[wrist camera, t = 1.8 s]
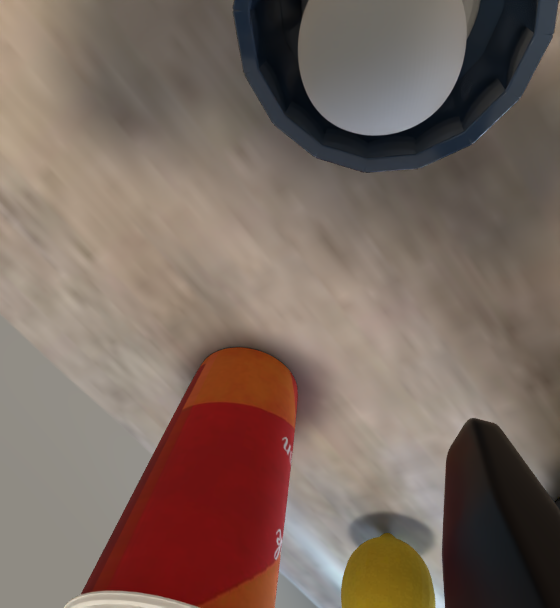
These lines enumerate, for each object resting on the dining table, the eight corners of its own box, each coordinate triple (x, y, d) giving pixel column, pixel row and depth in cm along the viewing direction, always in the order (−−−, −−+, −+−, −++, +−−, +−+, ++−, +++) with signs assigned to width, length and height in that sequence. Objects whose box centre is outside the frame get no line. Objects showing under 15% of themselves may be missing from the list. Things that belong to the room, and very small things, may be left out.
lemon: (360, 557, 37) (354, 691, 30) (334, 513, 34) (321, 649, 28) (439, 554, 35) (450, 696, 28) (419, 507, 32) (425, 652, 26)
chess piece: (307, 92, 18) (252, 206, 11) (298, -101, 15) (215, -114, 8) (466, 87, 17) (519, 208, 10) (493, -121, 14) (599, -157, 7)
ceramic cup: (576, -120, 14) (641, -131, 10) (451, 148, 19) (465, 204, 15) (303, -205, 14) (272, -247, 10) (247, 85, 19) (213, 127, 15)
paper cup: (247, 447, 31) (168, 737, 20) (151, 370, 29) (1, 655, 18) (349, 400, 27) (321, 727, 16) (250, 305, 25) (136, 620, 14)
